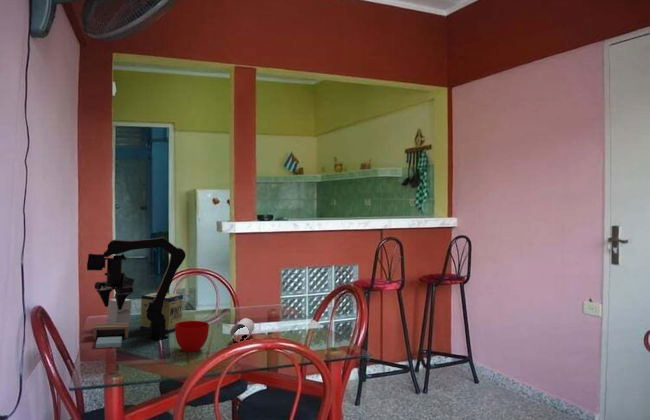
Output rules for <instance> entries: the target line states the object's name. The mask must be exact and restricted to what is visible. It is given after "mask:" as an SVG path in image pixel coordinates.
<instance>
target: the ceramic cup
mask: <svg viewBox="0 0 650 420" xmlns="http://www.w3.org/2000/svg"><path fill="white" fill-rule="evenodd" d="M209 329H210V323H208V322H207V321H203V320H202V321H201V320H187V321H186V320H185V321H184V320H182V322H179V323H176V324H175V331H174V332H175V333H174V334H175V340H176V342H177V345H178V346H179V348H180V349H181V350H182V351H183V352H187V353H194V352H195V351H196V352H199V351H200V350H201V349H202V348H203V347H204V346H205V343H206V342H207V339H208V335H209ZM198 350H199V351H198ZM196 352H195V353H196Z"/></svg>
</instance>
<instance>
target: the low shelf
mask: <svg viewBox="0 0 650 420" xmlns="http://www.w3.org/2000/svg"><path fill="white" fill-rule="evenodd" d="M92 332H93V333H92V340H93V341H97V339H98V336H100V337H101V336H122V335H121V334H125V335H124V339H125V338H128V339H129V332H130V327H129V322H124V323H107V322H101V323H100V322H97V323H94V326H93V331H92ZM112 334H114V335H112Z"/></svg>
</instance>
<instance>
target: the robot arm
mask: <svg viewBox="0 0 650 420" xmlns="http://www.w3.org/2000/svg"><path fill="white" fill-rule="evenodd" d="M152 248H161V249H163V250H164V251H165V252H167V253H168V254H170V256H169V260H168V266H167V268H166V270H165V273H164V275H163V278H162V280H161V282H160V285H159V287H158V290H157V291H156V292H157V294H156V296H155V298H154V299H153V301H151V300H149V303H148V306H147V307H146V316H147V319H148V320H150V321H151V323H150V331H149V335H147V336H146V338H147V339H149V340H153V341H159V340H162V339H167V338H169V335H166V333H165V331H166V324H165V322H166V319H165V316H164V315H163V314H162V313H161V312H162V307H163V302H164V299H165V297H166V294H167V293H168V291H169V290H170V287H171V285H172V282H173V280H174V277H175V275H176V272H177V270H178V269H179V268H180V267H181V265H182V263H183V262H184V261H185V259H186V252H185V250H184V249H183V248H181V247H177V246H175V245H174V244H172V243H171V242H170V241H169V240H168V239H166V237H164V236H161V237H155V238H147V239H137V240H127V239H112V240H111V241H109V243H108V244H107V249H106V250H105V251H104V252H103V253H88V255H87V256H88V257H87V262H86V263H87V264H86V270H87V271H103V269H106V272H104V276H106V280H103V281H96V282H95V283H94V290H96V292H97V294H98V295H99V297H100V299H101V300H102V301H101V302H102V303H103V305H104V307H105V308H108V304H109V299H110V297H111V296H110V294H111V293H112V291H113V290H114V292H115V293H114V297H115V299H116V302H117V306H118V310H121V309H122V307H123V304H124V301H125V299H127V298H128V296H129V295H131V294H132V293H134V289H135V288H134V287H133V285H134V283H135V279H134V278H131V277H128V276H127V275H126V274H125V273H124V272H123V260H124V261H126V260H128V257H127V256H126V254H124V253H126V252H129V251H135V250H143V249H152ZM111 256H113V257H111ZM106 260H107V261H106ZM106 263H107V264H106Z"/></svg>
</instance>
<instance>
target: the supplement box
mask: <svg viewBox="0 0 650 420" xmlns="http://www.w3.org/2000/svg"><path fill="white" fill-rule="evenodd" d="M131 311H132V299H129V298H126V299H125V301H124V304H123V307H122V309H121V310H118V306H117V302H116V298H111V299H110V298H109V304H108V307H107V321H106V323H124V322H129V328H130V327H131V314H132V313H131Z"/></svg>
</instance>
